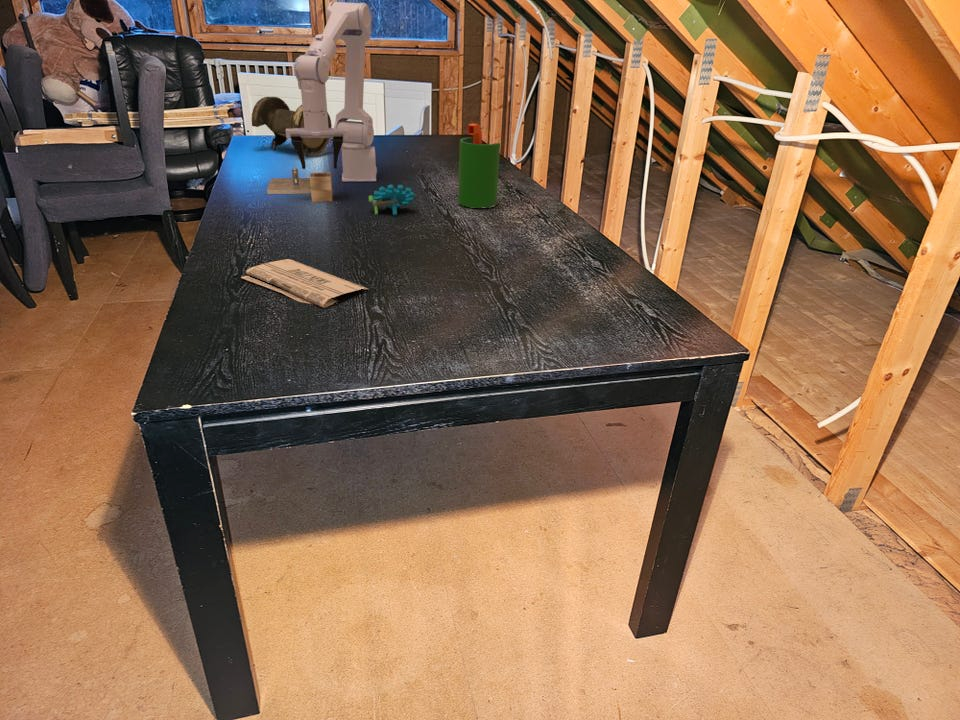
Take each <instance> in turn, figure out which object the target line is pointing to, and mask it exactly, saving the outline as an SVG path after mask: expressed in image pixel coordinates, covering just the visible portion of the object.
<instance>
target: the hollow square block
mask: <svg viewBox="0 0 960 720" xmlns="http://www.w3.org/2000/svg"><path fill="white" fill-rule="evenodd" d="M309 178H310V186H311V193H310V194H311V197H310V198H311V202H313V203H315V202H316V203H317V202H320V203H321V202H333V188H332V187H333V186H332V174H331V172H310V175H309Z"/></svg>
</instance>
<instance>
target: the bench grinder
mask: <svg viewBox="0 0 960 720" xmlns="http://www.w3.org/2000/svg"><path fill="white" fill-rule="evenodd" d="M327 114H328V128H333V127H332V119H331V116H330V114H329V112H328V111H327ZM251 126H252V127H254V128H255V127H256V128H258V127H261V126H266V127H267V128H268V129H269V130H270V131H271V132H272V133H273V134H274V138H272V141H271V143H270V150H272V151H276V149H277V147H279V146H281V145H283V144H284V143H286V142H287V141H288V139H289V138H286V129H293V128H304V117H303V107H302V104H300V105H299V106H298V107H297V108H296V110H291V109H290V107H289V105H288V104H287V103H286V101H285V100H283V99H282V98H280V97H279V96H278V97H277V96H264V97H262V98H260V99H259V100H257V102H256V103H255V105H254V106H253V108H252V113H251ZM330 140H331V138H303V151H305V152H304V157H306V158H309V157H310V154H311V153H313V154H320V153H322V151H324V150H325V148H327V146H328V145H329V143H330ZM292 147H293V148H294V146H293V145H292Z"/></svg>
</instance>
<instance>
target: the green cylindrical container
mask: <svg viewBox="0 0 960 720" xmlns="http://www.w3.org/2000/svg"><path fill="white" fill-rule="evenodd" d="M467 134H468V135H471V136H472V137H471V136H469V137H463V138H460V139H459V156H458V157H459V160H458V189H457V190H458V194H457V197H458V198H457V204H458V203H459V204H461V205H463V206H466V207H474V208H482V207H490V206H493V205H495V204H497V205H498V188H499V187H498V186H499V171H500V154H501V153H500V151H501V142H494V143H491V144H490V143H489V144H485V143H483V133H482V127H481V124H479V123H469V124H468V125H467ZM459 204H458V205H459ZM461 205H460V206H461ZM463 206H462V207H463ZM466 207H465V208H466Z"/></svg>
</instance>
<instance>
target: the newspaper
mask: <svg viewBox="0 0 960 720" xmlns="http://www.w3.org/2000/svg"><path fill="white" fill-rule="evenodd" d="M245 274H247V275H244V276H241V277H240V278H241V279H243V280H246V281H248V282H251V283H254V284H255V285H259V286H262V287H265V288H267V289H270V290H271V291H275V292H278V293H281V294H283V295H285V296H286V297H289V298H291V299H292V300H294V301H297V302H300V303H305V304H308V305H309V304H310V305H314V304H315V305H316V306H319V307H322V308H328V307H330V306H332V305H335V304H334V303H335V302H336V301H333V300H332V299H331V298H334V299H335V298H336V297H339V296H341V295H345V294H348V293H352V292H355V291H360V290H361V289H363V290H369V289H370V288H367V287H366V286H362V285H359V284H357V283H354V282H352V281H348V280H346V279H343V278H341V277H338V276H335V275H333V274H330V273H328V272H326V271H323V270H320V269H317V268H315V267H313V266H309V265H307V264H304V263H302V262H299V261H296V260H293V259H291V258H290V259H288V258H287V259H280V260H275V261H269V262H266V263H262V264H259V265H255V266H252V267H249V268H248V269H246V270H245ZM250 276H252V277H255V278H257V279H255V278H252V277H250ZM258 279H260V280H262V281H265V282H267V283H270V284H273V285H275V286H277V287H280V288H282V289H284V290H282V289H280V288H277V287H275V286H272V285H269V284H267V283H265V282H262V281H260V280H258ZM286 290H287V291H286ZM363 290H361V291H363ZM288 291H289V292H288ZM369 291H370V290H369Z"/></svg>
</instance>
